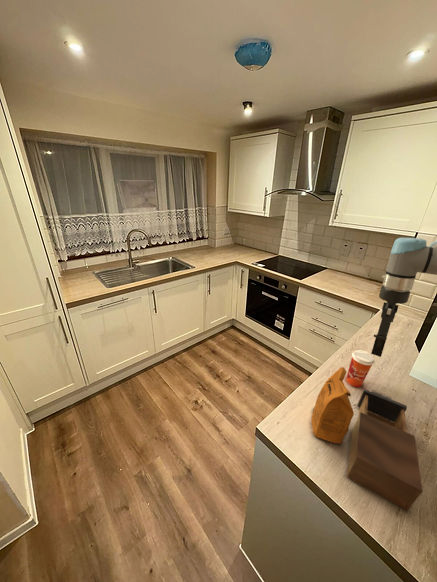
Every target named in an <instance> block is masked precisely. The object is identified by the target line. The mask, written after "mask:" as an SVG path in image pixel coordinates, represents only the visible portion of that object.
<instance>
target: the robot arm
mask: <svg viewBox="0 0 437 582" xmlns="http://www.w3.org/2000/svg"><path fill="white" fill-rule="evenodd" d="M418 273H421V274H428V275H434V276H437V240H435V241H433V242H432V243H431V244H430V245H429V246H428V245H427V240H426V239H423V238H416V237H398V238H396V239H394V242H393V245H392V248H391V251H390V253H389V258H388V261H387V265H386V270H385V273H384V275H382V276H381V279H383V280H382V286H380V287H381V288H380V291H379V294H378V297H379V299H381V300H383V301H385V302H383V305H382V308H381V315H380V318H381V320H380V324H379V327H378V331H377V333H376V334H373V337H374V338H375V339H374V342H373V345H372V349H371V353H370V354H371V355H372V356H373V355H374V356H376V357H379V358H381V357H382V355H383V351H384V349H385V346H386V342H387V339H388V335H389V330H390V327H391V324H392V323H394V320H395V316H396V314H397V313H398V310H399V305H403V304H407V303H408V302H409V298H410V295H411V291H412V290H413V287H414V283H415V281H416V277H417V274H418ZM398 304H399V305H398Z"/></svg>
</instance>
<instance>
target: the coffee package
mask: <svg viewBox="0 0 437 582" xmlns="http://www.w3.org/2000/svg"><path fill="white" fill-rule="evenodd" d="M346 376H347V370H346V368H345V367H343V366H341V367H339V368H338V369H337V370H336V371H335V372H334V373H333V374H332V375H331V376H330V377H329V378H328V379H327V380H325V383H324V384H323V386H322V387H321V389H320V390H319V393H318V395H317V398H316V400H315V404H314V406H313V409H312V414H311V427H312V432H313V436H314V437H316V438H318V439H320V440H324V441H328V442H330V443H334V444H342V443H343V440H344V438H345V437H346V435H347V434H348V432H349V427H350V425H351V421H352V419H353V417H354V414H355V412H354V409H353V407H352V404H351V401H350V397H352V394H351V392H350V391H349V390H348V388H347V386H346V385H345V383H344V380H345V377H346Z"/></svg>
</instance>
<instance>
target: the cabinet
mask: <svg viewBox="0 0 437 582" xmlns="http://www.w3.org/2000/svg"><path fill="white" fill-rule="evenodd" d="M350 437H351V438H350V447H349V456H348V464H347V465H348V466H347V475H346V477H347V478H348V479H349V480H351V481H353V482H355V483H357V484H358V485H360V486H362V487H364V488H365V489H366V490H369V491H370V492H373V493H374V494H376V495H378V496H379V497H381V498H383V499H384V500H387V501H388V502H390V503H392V504H393V505H395V506H397V507H399V508H401V509H402V510H404V511H406V512H408V511H409V510H410V508H411V507H412V506H413V504H414V503H415V502H416V501H417V500H418V498H419V497H420V496H421V494H422V493H423V484H422V478H421V471H420V464H419V457H418V450H417V443H416V436H415V435H414V434H412V433H409V432H408V431H407V432H405V431H403V430H400V429H398V428H396V427H394V426H391V425H389V424H387V423H384V422H382V421H380V420H378V419H375V418H373V417H371V416H368V415H366V414H364V413H362V412H360V414H359V413H358V417H357V419H356V422H355V424H354V426H353V428H352V431H351V436H350Z"/></svg>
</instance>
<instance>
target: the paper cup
mask: <svg viewBox="0 0 437 582" xmlns="http://www.w3.org/2000/svg"><path fill="white" fill-rule="evenodd" d="M375 362H376V361H375V358H374V356H373V354H371V353H370V352H369V351H366V350H362V349H355V350H354V351H353V352H352V353H351V359H350V362H349V367H348V371H347V373H346V378H345V379H346V380H345V381H346V382H347V383H348V385H350V386H352V387H354V388H360V387H362V385H363V384H364V381H365V380H366V378H367V376H368V374H369V372H370V370H371V368H372V366H373V365H374V364H375Z"/></svg>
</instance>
